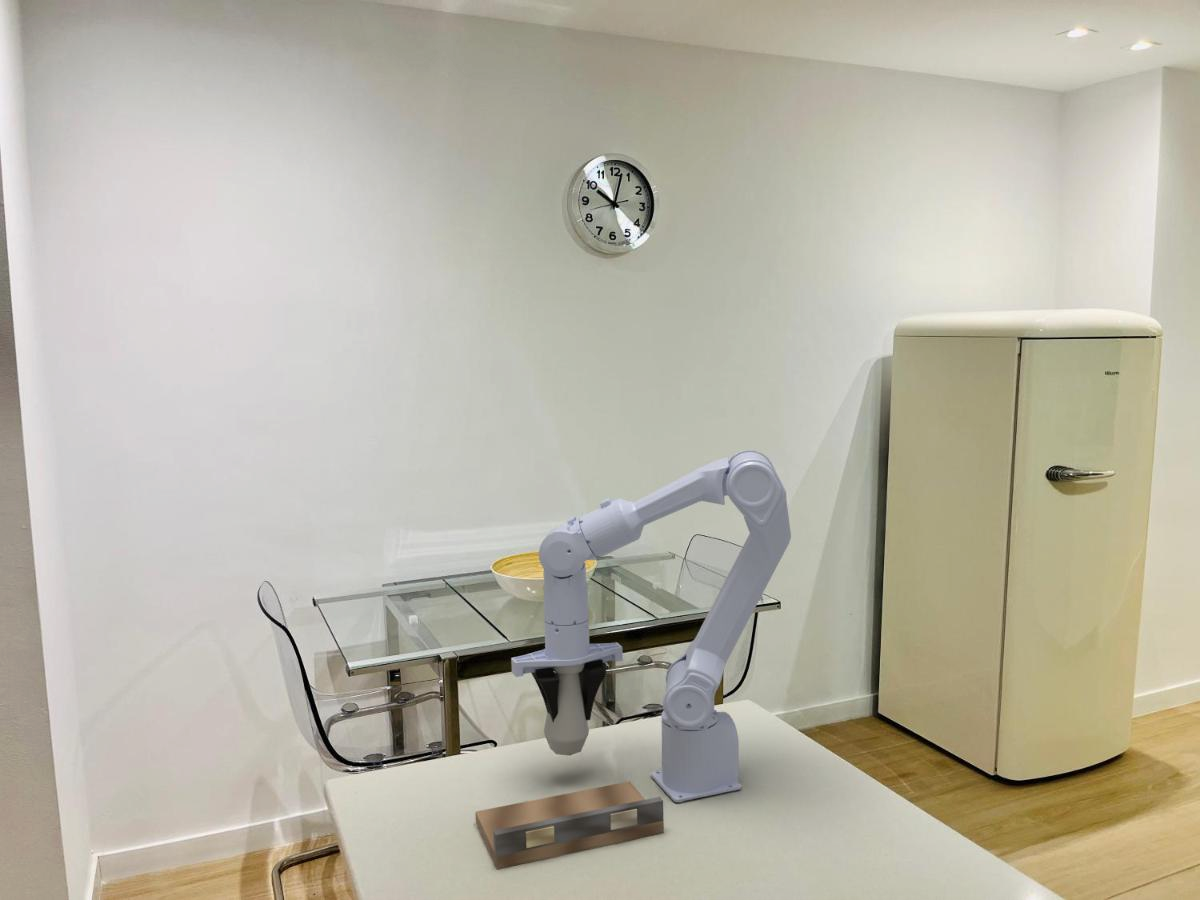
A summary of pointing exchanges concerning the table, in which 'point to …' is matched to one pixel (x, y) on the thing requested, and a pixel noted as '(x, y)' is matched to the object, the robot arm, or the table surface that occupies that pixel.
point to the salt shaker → (567, 713)
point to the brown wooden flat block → (568, 823)
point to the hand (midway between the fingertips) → (569, 720)
